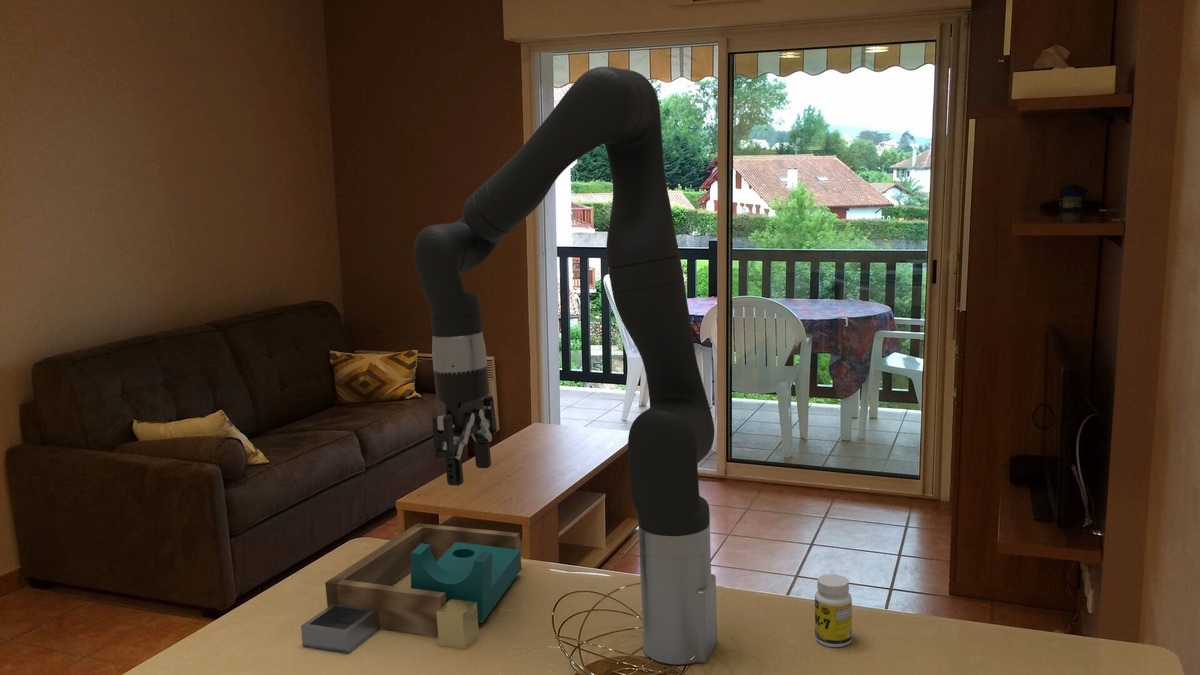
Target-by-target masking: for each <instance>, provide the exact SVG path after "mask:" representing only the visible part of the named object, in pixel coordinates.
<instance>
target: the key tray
mask: <svg viewBox="0 0 1200 675" xmlns="http://www.w3.org/2000/svg"><path fill="white" fill-rule="evenodd" d="M300 630H301V632H300V633H301V642H302V647H304V648H310V649H317V650H322V651H329V652H330V651H331V652H336V653H343V654H350V653H351V652H353V651H354V650H355V649H356V648H358V647H359V646H360V645H362V643H364V642H366V641H367V640H368V639H370V637H372V636H373V635H374V634H376V633H377V632H378V631H380V630H381V629H380V622H379V610H378V609H374V608H367V607H359V606H352V605H345V604H337V603H334V604H332V605H331V606H329V607H326V608H325V609H323V610H322V611H320V612H319V613H318V614H316V615H314V616H313V617H311V618H310V619H309V620H307V621H305V622H304V623H303V624H301V625H300Z"/></svg>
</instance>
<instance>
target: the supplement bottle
mask: <svg viewBox="0 0 1200 675" xmlns="http://www.w3.org/2000/svg"><path fill="white" fill-rule="evenodd" d="M849 582H850V581H849V578H847V577H846V576H843V575H840V574H835V573H834V574H833V573H827V574H826V573H825V574H823V575H820V576H819V577H817V583H816V584H817V585H816V588H817V591H815V594H814V637H815V640H816V642H818V643H819V644H821V645H822V646H826V647H830V648H843V647H846V646H847V645H850V643H851V642H852V639H853V627H852V626H853V609H852V608H853V604H852V603H853V600H852V599H853V598H852V595H851V593H850V592H849V591H850V585H849V584H850V583H849Z"/></svg>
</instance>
